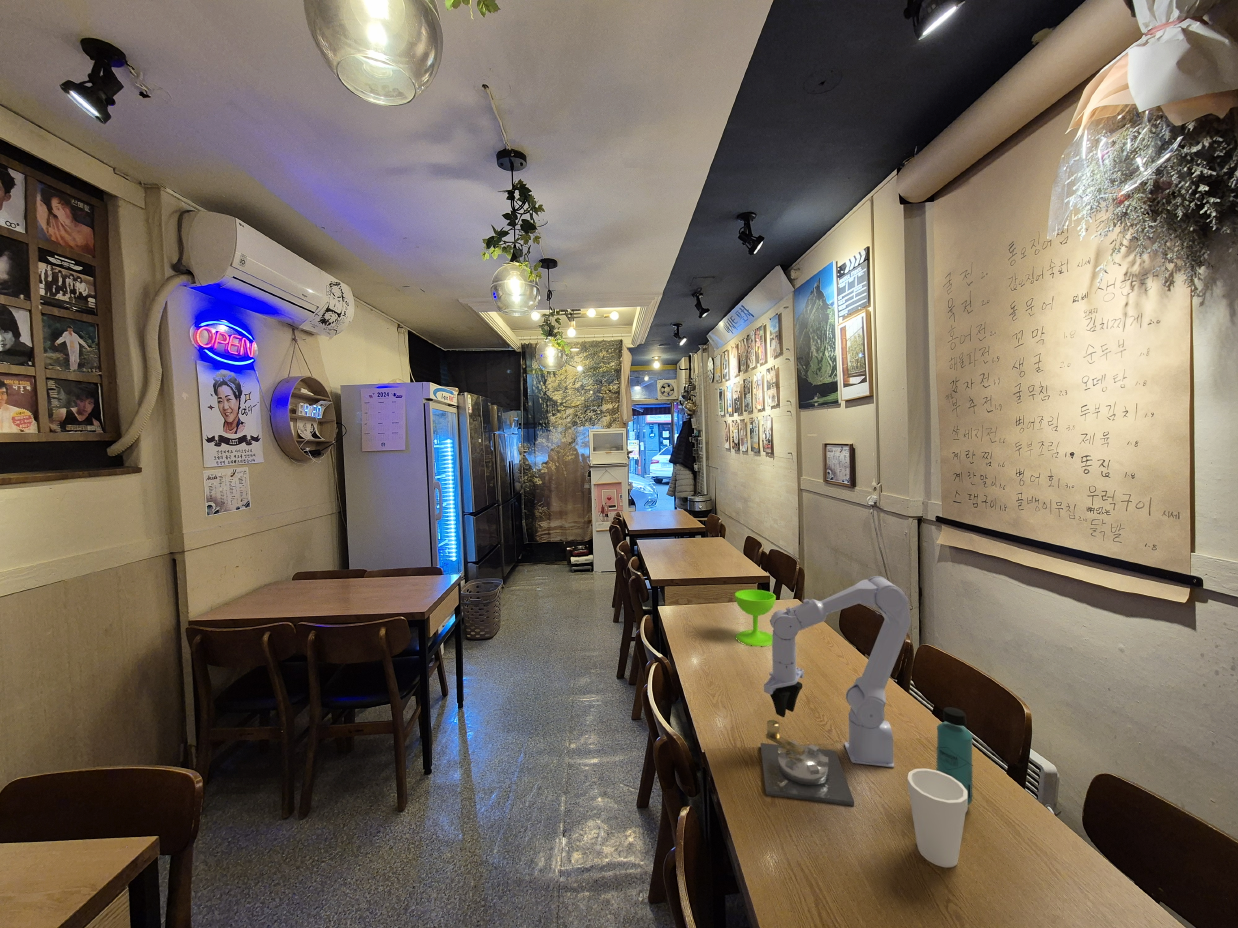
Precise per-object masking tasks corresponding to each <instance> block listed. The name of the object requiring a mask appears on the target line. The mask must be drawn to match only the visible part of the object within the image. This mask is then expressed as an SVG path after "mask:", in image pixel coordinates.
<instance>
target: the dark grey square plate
mask: <svg viewBox="0 0 1238 928" xmlns="http://www.w3.org/2000/svg"><path fill="white" fill-rule="evenodd" d="M778 748H782V746H780V745H779V744H777V743H775V744H774V743H767V742H765V743H764V742H760V753H761V763H762V770H763V778H764V787H765V794H766V796H769V797H770V796H771V797H779V798H780V797H781V798H788V799H789V798H790V799H795V800H803V801H811V802H819V803H827V804H835V805H841V806H848V807H849V806H851V807H855V800H854V797H853V794H852V791H851V789H850V786H849V783H848V780H847V778H846V775H845V772H844V769H843V767H842V765H841V762H840V759H839V756H838V753H837V751H836V750H832V749H822V748H819V751H820V753H821V754H823V755H824V756H825V757H828V778H827V780H826V781H825V782H823V783H821V784H817V785H805V784H801V783H797V782H795V781H792V780H791V779H789V778H787V777H786V776H785V775H784V774H782V772H781V771H780V769H779V766H778Z"/></svg>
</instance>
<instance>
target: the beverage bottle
mask: <svg viewBox="0 0 1238 928" xmlns="http://www.w3.org/2000/svg"><path fill="white" fill-rule="evenodd" d="M942 719H943V721H944V722H941V723H938V725H937V726H936V730H937V732H936V733H937V735H936V737H937V741H936V743H937V745H936V749H935V751H936V764H935V766H936V771H940V772H942V773H944V774H947V775H949V776H951V777H953V778H954V779H956V780H957V781H959V782H960V783H961V784H962V785H963V786H964V787H965V789H966V790H967V791H968V806H970V805H971V804H972V802H973V800H974V799H973V775H974V770H973V767H974V765H973V738H974V737H973V735H972V732H971V731H969V729H967V727H966V725H967V724H968V723H967V714H966V713H965V712H964V711H963V710H961V709H959V708H956V707H951V706H950V707H949V706H948V707H944V708H943V714H942Z"/></svg>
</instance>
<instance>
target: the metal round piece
mask: <svg viewBox="0 0 1238 928" xmlns="http://www.w3.org/2000/svg"><path fill="white" fill-rule="evenodd" d="M780 726H781V725H780V722H779V721H778V720H774V719H769V720H767V721H766V733H765V738H766V739H768V740H770V741H771V742H773V743H775V744H776V745H780V746H782V748H778V766H779V769H780V771H781V772H782V774H784V775H785V776H786V777H787V778H789V779H791V780H792V781H795V782H797V783H801V784H805V785H817V784H821V783H823V782H825V781H826V780H827V778H828V757H825V756H824V755H823V754H821V753H820V751H819V749H820V747H819V746H817V745H815V744H812V743H811V744H809V745H808V746H806V745H802V744H799V743H798V742H797V741H796V740H788V739H786V738H784V737H782V736H781V734H780V733H781V732H780V731H781V728H780Z"/></svg>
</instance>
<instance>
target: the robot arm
mask: <svg viewBox="0 0 1238 928" xmlns="http://www.w3.org/2000/svg"><path fill="white" fill-rule="evenodd" d="M802 601H803V602H802V603H800V604H798V605H794V606H793V607H790V606H788V607H786V608H785V610H783V609H779V610H776V611H774V612H773V614H772V615H771V617H770V619H769V623H770V625H771V627H772V633H771V635H772V637H773V640H772V646H771V647H772V648H771V650H772V654H771V656H772V660H771V661H772V671H770V672H769V673H768V674H769V676H770V677H769V679H768V680H767V681H766V682H765V683H763V692H764V693H766V694H768V695H769V696H770V698H771V700H772V703H773V707H774V709H775V710H774V711H775V714H776V715H777V716H779V717H781V718H785V716H786V714H787V711H788V712H791V713H793V712H794V710H795V708H796V703H797V699H798V697H799V694H800V692H801V690H802V689H803V683H802V682H800V681H799V679H803V678H805V670H804V669H802V668H800V667H797V643H796V637H797V635H798V634H799V632H800V631H803V630H805V629H809V628H810V627H813V626H815V625H819V624H821V623H824V622H825V621H826V619H827V617H828V615H829V614H832V613H835V612H837V611H841V610H843V609H847V608H849V607H853V606H855V605H858V604H859V605H863V606H868V607H871V608H876V607H877V608H878V610H879V612H880V613H881V615H882V617H883V618H884V620H883V623H882V624H881V628H880V629H879V631H878V632H879V633H878V635H877V638H876V640H875V643H874V645H873V648H872V650H871V653H870V655H869V658H868V660H867V663H866V665H865V668H864V670H863V673H862V676H858V677H857V678H855V681H854V683H853V684H852V685H851V686H850V687H849V688H848V689H847V690H846V692H845V699H846V702H847V703H848V705H849V706H850V709H849V712H848V741H845V742H844V743H843V744H844V746H845V749H846V752H847V755H848V757H849V759H850V762H851V763H852V764H860V765H872V766H879V767H887V768H895V763H894V736H893V729H892V726H891V724H890V722H889V721H888V720H885V718H886V717H885V707H886V704H887V700H886V699H887V698H886V690H885V689H886V686H887V684H888V681H889V679H890V677H891V674H892V672H893V668H894V667H895V665H896V662H897V659H898V657H899V655H900V652H901V649H902V647H903V644H904V642H905V639H906V637H907V635H908V633H909V630H910V627H911V624H912V618H911V614H910V610H909V602H910V600H909V598H908V597H907V595H906V594H905V592H904V591H903V590H902V589H901V588H900V587H898V586H897V585H895V584H894V583H892V582H891V581H889V580H888V579H887V578H885V577H883V576H880V575H874V576H871V577H869V578H867V579H862V580H860V581H859V582H858V583H856V584H854V585H852V586H850V587H848V588H845V589H843V590H841V591H839V592H837V593H835V594H833V595H831V596H829V597H827V598H825V599H822V600H816V599H814V598H812V599H808V598H805V599H803V600H802Z"/></svg>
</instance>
